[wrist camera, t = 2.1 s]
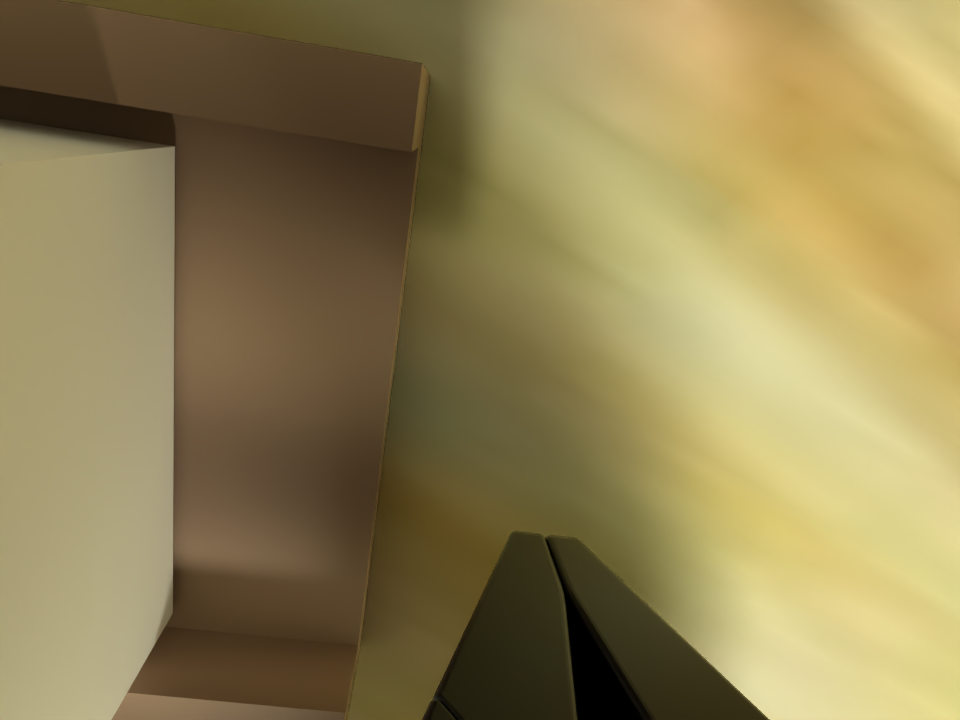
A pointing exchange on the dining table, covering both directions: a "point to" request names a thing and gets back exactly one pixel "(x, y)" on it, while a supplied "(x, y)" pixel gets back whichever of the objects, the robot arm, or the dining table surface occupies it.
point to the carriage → (83, 416)
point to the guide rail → (255, 329)
